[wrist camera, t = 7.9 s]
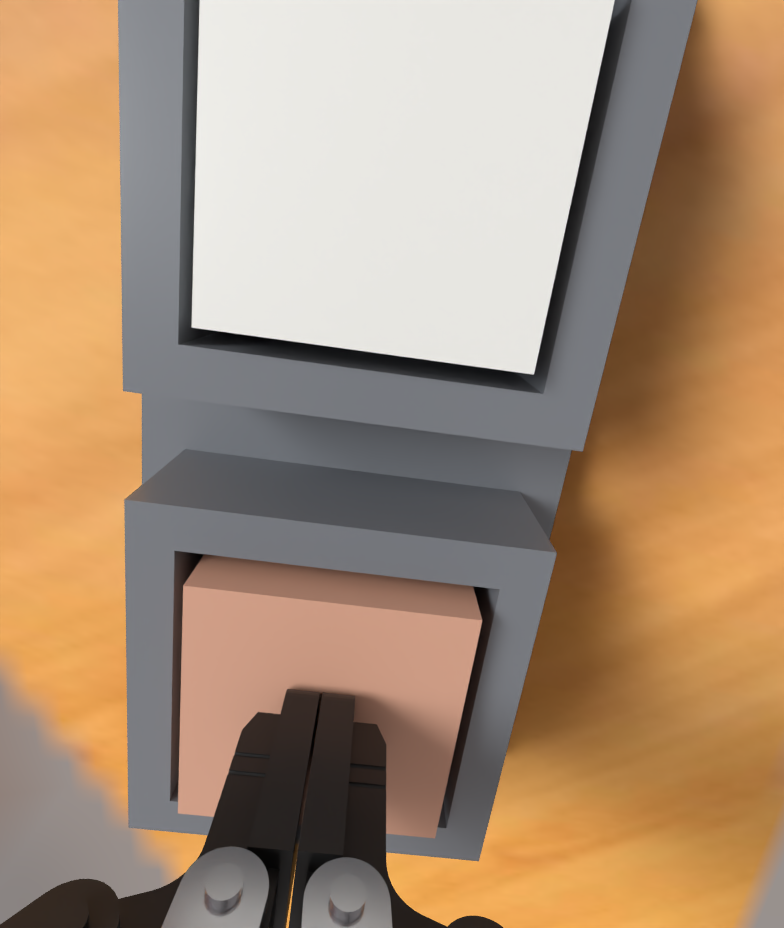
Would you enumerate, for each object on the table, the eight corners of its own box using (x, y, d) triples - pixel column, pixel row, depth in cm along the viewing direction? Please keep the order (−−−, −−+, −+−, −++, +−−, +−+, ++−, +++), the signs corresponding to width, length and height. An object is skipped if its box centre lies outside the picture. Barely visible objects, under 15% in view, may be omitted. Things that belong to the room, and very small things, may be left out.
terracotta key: (225, 522, 14) (182, 585, 11) (463, 552, 14) (482, 620, 11) (216, 717, 16) (177, 813, 13) (426, 739, 16) (434, 838, 13)
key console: (169, -111, 12) (28, -362, 7) (663, -25, 13) (828, -207, 8) (161, 710, 19) (84, 855, 14) (482, 745, 19) (512, 895, 15)
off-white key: (252, -9, 11) (202, -114, 8) (562, 43, 11) (623, -41, 8) (236, 316, 12) (191, 326, 10) (501, 353, 13) (533, 374, 10)
